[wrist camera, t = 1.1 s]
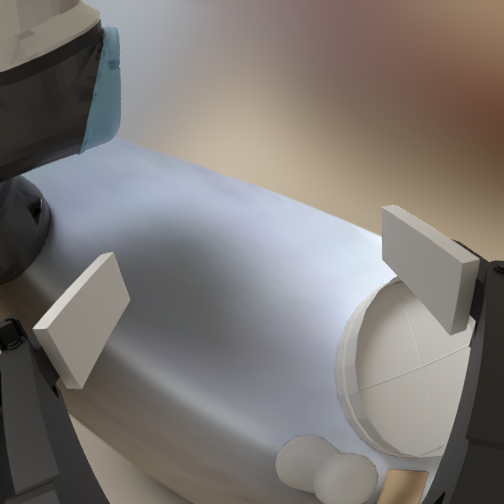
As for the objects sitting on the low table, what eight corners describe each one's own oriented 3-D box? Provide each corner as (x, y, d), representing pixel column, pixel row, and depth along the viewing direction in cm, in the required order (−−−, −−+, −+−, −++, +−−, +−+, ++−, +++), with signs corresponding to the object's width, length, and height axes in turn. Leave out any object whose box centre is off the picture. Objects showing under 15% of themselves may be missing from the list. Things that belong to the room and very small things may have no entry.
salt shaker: (276, 429, 27) (320, 441, 16) (330, 435, 27) (398, 442, 16) (265, 482, 24) (302, 524, 13) (320, 485, 25) (383, 519, 13)
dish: (312, 301, 35) (327, 283, 30) (446, 273, 39) (466, 257, 35) (355, 485, 25) (377, 494, 21) (485, 413, 30) (511, 409, 25)
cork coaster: (371, 515, 23) (373, 516, 22) (388, 469, 26) (390, 469, 25) (411, 515, 23) (413, 515, 22) (426, 471, 25) (428, 471, 25)
